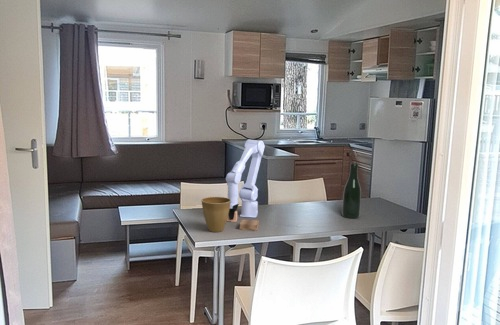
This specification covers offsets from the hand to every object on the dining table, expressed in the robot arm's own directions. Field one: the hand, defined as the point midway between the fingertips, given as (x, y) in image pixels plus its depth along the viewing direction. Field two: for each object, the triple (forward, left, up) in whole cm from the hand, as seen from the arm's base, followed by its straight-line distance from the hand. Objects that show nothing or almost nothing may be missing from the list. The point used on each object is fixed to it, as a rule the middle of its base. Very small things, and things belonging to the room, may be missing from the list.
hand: (232, 218), depth 253 cm
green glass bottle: (-67, -26, -2) cm, 72 cm away
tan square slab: (-11, +11, -1) cm, 16 cm away
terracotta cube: (0, 0, -1) cm, 1 cm away
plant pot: (+5, +19, -2) cm, 20 cm away
